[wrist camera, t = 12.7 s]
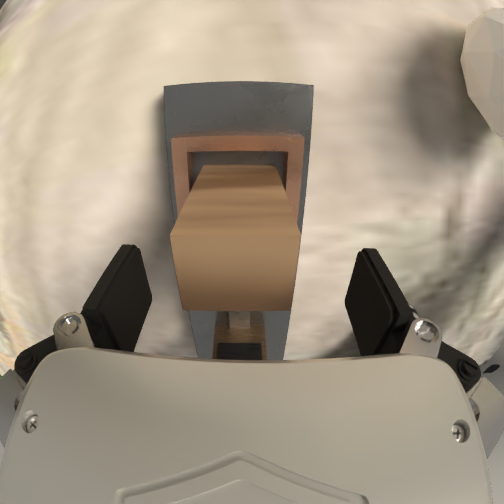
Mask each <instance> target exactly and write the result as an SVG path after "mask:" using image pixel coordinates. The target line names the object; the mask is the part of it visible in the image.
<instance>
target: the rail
mask: <svg viewBox="0 0 504 504" xmlns="http://www.w3.org/2000/svg"><path fill="white" fill-rule="evenodd" d="M313 90H314V85H306V84H295V83H280V82H253V81H232V82H205V83H190V84H179V85H170V86H164V109H165V129H166V144H167V157H168V169H169V180H170V189H171V199H172V207H173V216H174V224H175V223H176V220H177V218H178V216H179V214H180V212H181V210H182V208H183V206H184V203H185V201H186V199H187V197H188V195H189V193H190V191H191V189H192V187H193V185H194V183H195V181H196V179H197V177H198V175H199V173H200V171H201V169H202V167H203V166H204V165H221V164H258V165H275V166H276V168H277V171H278V174H279V176H280V179H281V182H282V184H283V187H284V190H285V192H286V195H287V198H288V200H289V203H290V206H291V209H292V211H293V214H294V217H295V220H296V223H297V225H298V228H299V231H300V234H301V233H302V224H303V215H304V206H305V197H306V186H307V176H308V164H309V152H310V139H311V125H312V109H313ZM300 241H301V239H300ZM299 249H300V247H299ZM298 257H299V254H298ZM297 265H298V262H297ZM296 272H297V270H296ZM295 280H296V277H295ZM294 287H295V284H294ZM293 294H294V291H293ZM292 301H293V298H292ZM291 307H292V304H291ZM188 311H189V316H190V321H191V326H192V331H193V336H194V340H195V345H196V350H197V354H198V358H202V359H222V360H283V356H284V350H285V345H286V339H287V333H288V326H289V320H290V314H291V311H195V310H188Z"/></svg>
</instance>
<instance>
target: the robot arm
mask: <svg viewBox="0 0 504 504" xmlns="http://www.w3.org/2000/svg"><path fill="white" fill-rule="evenodd" d="M151 302H152V294H151V291H150V287H149V283H148V279H147V276H146V272H145V268H144V264H143V259H142V255H141V251H140V249H139V248H137V247H136V245H122V246H121V247H120V249H119V250H118V252H117V253H116V255H115V256H114V258H113V259H112V261H111V262H110V264H109V265H108V267H107V268H106V270H105V271H104V273H103V275H102V276H101V278H100V279H99V281H98V283H97V284H96V286H95V287H94V289H93V291H92V292H91V294H90V296H89V297H88V299H87V301H86V302H85V304H84V306H83V310H82V311H81V313H77V312H70V313H66V314H64V315H63V316H61V317H60V318H59V319H58V320H57V321H56V323H55V325H54V328H53V332H54V335H52V336H50V337H48V338H46V339H44V340H43V341H41V342H39V343H37V344H35V345H33V346H31V347H29V348H28V349H26V350H24V351H23V352H21V353H20V354H19V355H18V357H17V359H16V361H15V369H14V370H12V369H10V370H9V371H8V372H6V373H5V374H4V375H3V376H2V377H1V378H0V441H1V443H2V444H3V446H4V448H5V449H4V453H3V457H2V462H1V468H0V504H493V498H492V490H491V482H490V476H489V469H488V464H487V458H488V457H489V455H490V454H491V452H492V450H493V449H494V447H495V445H496V444H497V442H498V440H499V438H500V437H501V435H502V433H503V431H504V396H503V395H502V394H501V393H500V392H499V391H498V390H497V389H496V388H495V387H494V386H493V385H492V384H491V383H490V382H489V381H488V380H487V379H486V378H485V377H484V378H483V379H482V378H481V371H480V368H479V366H478V364H477V363H476V361H475V360H473V359H472V358H470V357H469V356H467V355H465V354H463V353H462V352H460V351H458V350H456V349H455V348H453V347H451V346H449V345H447V344H446V343H444V342H442V332H441V330H440V328H439V326H438V325H437V324H436V323H434V322H433V321H431V320H429V319H426V318H418V319H415V317H414V315H413V312H412V310H411V308H410V306H409V304H408V302H407V301H406V299H405V297H404V295H403V293H402V292H401V290H400V288H399V286H398V284H397V283H396V281H395V279H394V278H393V276H392V274H391V272H390V271H389V269H388V267H387V266H386V264H385V262H384V261H383V259H382V257H381V256H380V254H379V253H378V251H377V250H376V249H373V248H363V249H362V251H361V252H358V254H357V258H356V262H355V266H354V269H353V273H352V277H351V280H350V284H349V287H348V291H347V294H346V297H345V306H346V309H347V312H348V315H349V319H350V322H351V325H352V328H353V331H354V334H355V337H356V341H357V344H358V347H359V350H360V354H361V356H358V357H344V358H330V359H310V360H222V359H202V358H187V357H175V356H164V355H154V354H145V353H136V352H134V349H135V346H136V343H137V340H138V338H139V335H140V332H141V329H142V326H143V324H144V321H145V318H146V316H147V313H148V310H149V308H150V305H151Z"/></svg>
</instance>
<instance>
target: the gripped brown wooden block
mask: <svg viewBox="0 0 504 504" xmlns="http://www.w3.org/2000/svg"><path fill="white" fill-rule="evenodd" d="M300 239H301V234H300V231H299V228H298V225H297V223H296V220H295V217H294V214H293V211H292V209H291V206H290V203H289V200H288V198H287V195H286V192H285V190H284V187H283V184H282V182H281V179H280V176H279V174H278V171H277V168H276V166H275V165H258V164H221V165H204V166H203V167H202V169H201V171H200V173H199V175H198V177H197V179H196V181H195V183H194V185H193V187H192V189H191V191H190V193H189V195H188V197H187V199H186V201H185V203H184V206H183V208H182V210H181V212H180V214H179V216H178V218H177V220H176V223H175V225H174V227H173V229H172V231H171V233H170V240H171V247H172V253H173V259H174V265H175V271H176V277H177V282H178V287H179V293H180V298H181V303H182V308H183V310H195V311H291V304H292V298H293V291H294V284H295V277H296V270H297V262H298V254H299V247H300Z"/></svg>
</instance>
